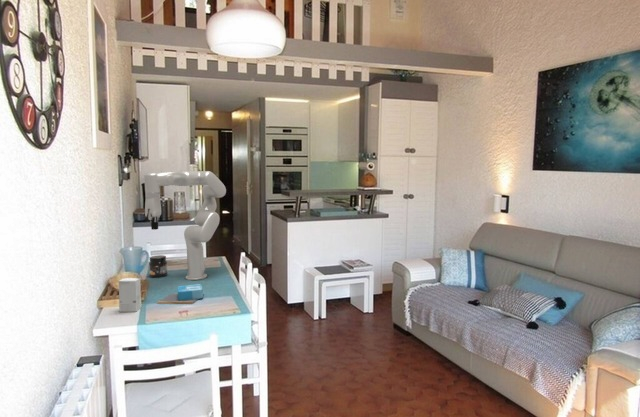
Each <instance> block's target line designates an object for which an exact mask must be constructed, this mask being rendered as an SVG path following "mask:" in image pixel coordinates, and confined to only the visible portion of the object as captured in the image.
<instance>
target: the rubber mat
mask: <svg viewBox="0 0 640 417" xmlns="http://www.w3.org/2000/svg"><path fill="white" fill-rule="evenodd" d="M204 296H205V294H204V293H203V297H204ZM159 301H179V300H178V293H170V294H168V295H167V296H165V297H164V298H162V299H160V300H159ZM183 301H193V304H195V303H197V301H199V299H191V300H183Z"/></svg>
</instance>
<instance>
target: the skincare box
mask: <svg viewBox="0 0 640 417" xmlns="http://www.w3.org/2000/svg"><path fill="white" fill-rule="evenodd" d="M141 287H142V286H141V278H140V277H139V278H137V277H126V278H125V277H124V278H121V279H120V280H118V299H119V302H118V303H119V304H118V305H119V306H118V307H119V309H118V310H119V313H128V312H132V313H133V312H138V311H139V310H141V309H142V294H141V290H142V289H141Z"/></svg>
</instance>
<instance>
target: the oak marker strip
mask: <svg viewBox="0 0 640 417" xmlns="http://www.w3.org/2000/svg"><path fill="white" fill-rule="evenodd" d="M156 304H157V305H158V304H159V305H161V304H162V305H193V304H194V303H193V301H160V300H158V301H157V302H156Z"/></svg>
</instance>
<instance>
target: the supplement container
mask: <svg viewBox="0 0 640 417" xmlns="http://www.w3.org/2000/svg"><path fill="white" fill-rule="evenodd" d="M166 259H167V256H166V255H162V254H161V255H153V256H150V257H149V262H148V264H149V265H148V267H149V276H150V278H155V277H158V278H163V277H166V276H167V275H168V274H169V273H168V261H167V260H166ZM155 279H156V278H155Z"/></svg>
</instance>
